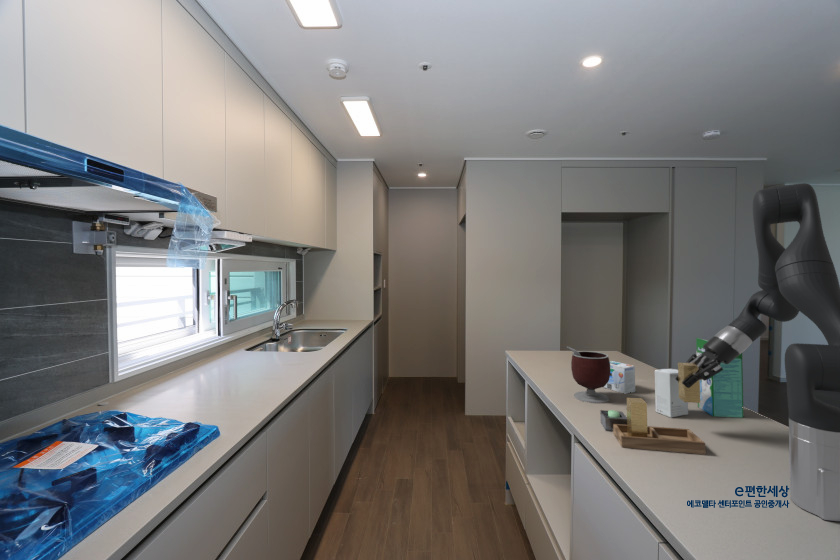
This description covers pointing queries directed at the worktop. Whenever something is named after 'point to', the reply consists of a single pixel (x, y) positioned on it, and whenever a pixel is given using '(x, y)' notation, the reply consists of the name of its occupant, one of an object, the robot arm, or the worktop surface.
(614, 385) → the light bulb box
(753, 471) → the worktop surface
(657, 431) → the tray
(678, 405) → the skincare box
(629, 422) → the billet
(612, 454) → the worktop surface
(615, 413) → the button
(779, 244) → the robot arm
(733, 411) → the milk carton
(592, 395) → the mate gourd
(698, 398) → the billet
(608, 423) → the button housing
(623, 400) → the worktop surface
